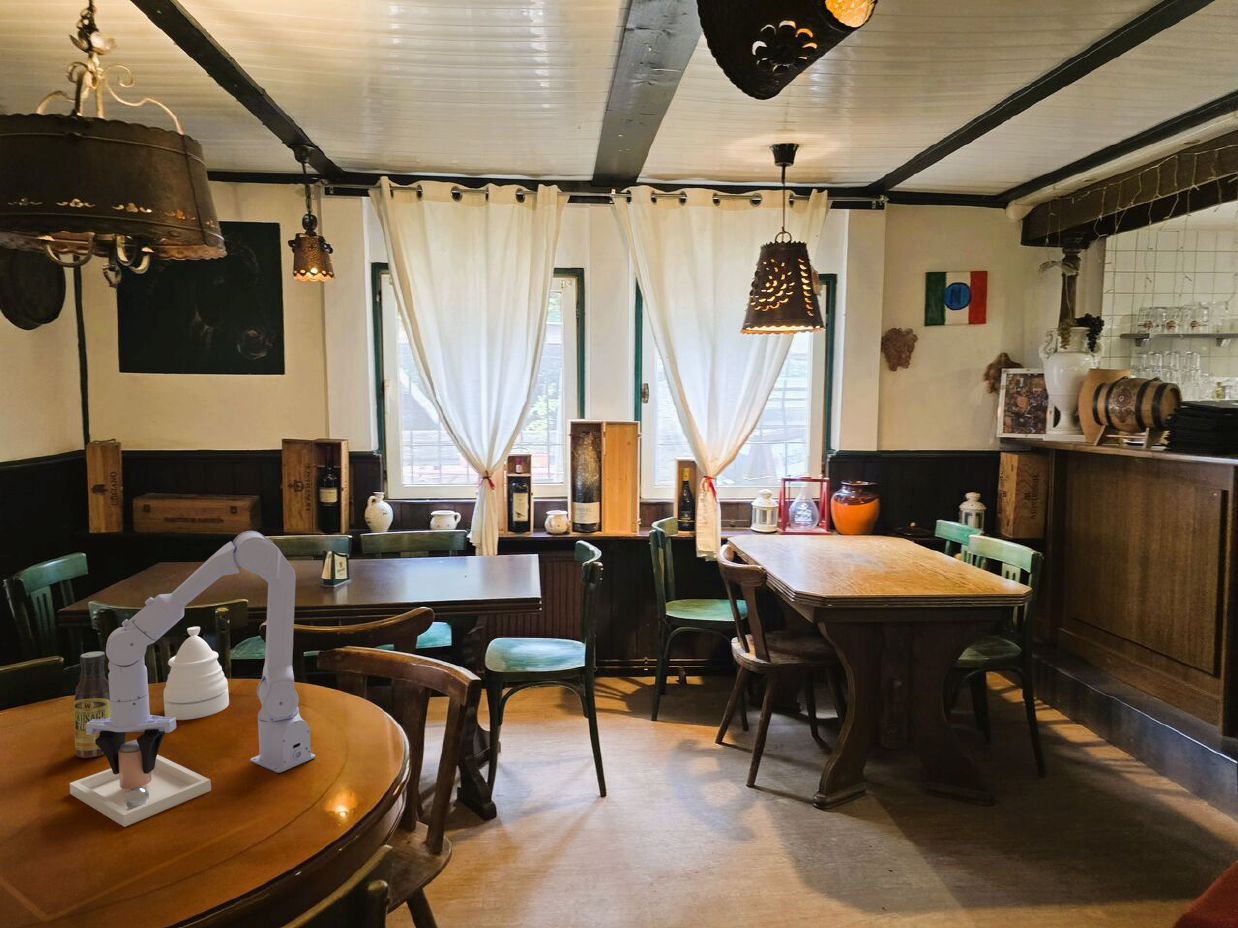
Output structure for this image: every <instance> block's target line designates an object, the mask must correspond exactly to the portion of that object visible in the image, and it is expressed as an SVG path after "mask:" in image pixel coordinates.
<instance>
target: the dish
mask: <svg viewBox="0 0 1238 928" xmlns="http://www.w3.org/2000/svg"><path fill="white" fill-rule="evenodd" d="M151 778H152V780H151V782H149V783H148V784H146V785H144V786H141V787H144V788H145V789H147V790H148V792H149V800H148V802H147V803H146V804H143V805H141V806H138V807H136V808H133V809H130V808H128V807H127V806H126V804H125V796H126V794H127V793H128V792H129V791H130V790H131V789H122V788H120V784H119V773H118V774H113V771H112V769H111V767H110V768H108V769H105V770H102V771H100V772H99V771H98V772H97V773H95V774H91V775H89V776H86V777H83V778H80V779H77V780H74V781H72V782H69V795H71V796H73V797H75V799H78V800H79V801H81V802H83V803H85V804H86V805H88V806H89V807H90V808H93V809H94V810H96V811H97V812H99V813H101V814H102V815H104V816H106V817H108V818H110V819H111V820H112V821H114V822H116V823H117V824H118V825H120V826H122V827H124V828H126V827H127V826H130V825H133V824H135V823H138V822H140V821H142V820H144V819H147V818H149V817H151V816H154V815H156V814H159V813H161V812H164V811H165V810H168V809H171V808H174V807H176V806H178V805H180V804H183V803H185V802H188V801H190V800H192V799H194V798H195V799H196V798H197V797H199V796H202V795H203V794H207V793H208V792H211V791H212V784H211V782H212V781H211V779H210V778H208V777H205V776H203V775H201V774H199V773H197V772H195V771H193V770H190V769H189V768H187V767H185V766H183V765H180V764H178V763H176V762H174V761H172V760H170V759H167V758H166V757H164V756H162V755H159V754H157V757H156V761H155V767H154V769H153V770H152V771H151Z"/></svg>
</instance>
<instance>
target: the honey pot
mask: <svg viewBox="0 0 1238 928" xmlns="http://www.w3.org/2000/svg"><path fill="white" fill-rule="evenodd" d="M186 631H187V634H188V635H189V637H188V638H186V639H185V640H184V641H183V642H182V644H181V645H180V647H179V649H178V651H177V653H176V654H175V655H174V656H172V657H171V658H169V660H168V662H167V665H168V666H170V670H169V673H168V675H167V680H166V686H165V687H164V689H163V693H162V694H163V706H164V707H163V709H164V710H163V711H164V717H171V718H176V721H185V720H194V719H200V718H204V717H208V716H212V715H214V714H217V713H219V712H221V711H223V710H225V709H226V708H227V707H228V706H229V705H230V699H229V698H230V697H229V696H230V695H229V682H228V679H227V677H226V676H225V673H224V671H223V668H222V665H221V664H220V663H219V661H218V658H219V653H218V652H217V651H215V650H212V648H211V647H210V646H209V643H207V642H206V641H205V640H204V639H203V638H202V637H200V636H198V635H199V634H200V631H201V627H200V626H192V627H188V628H187V629H186Z"/></svg>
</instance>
